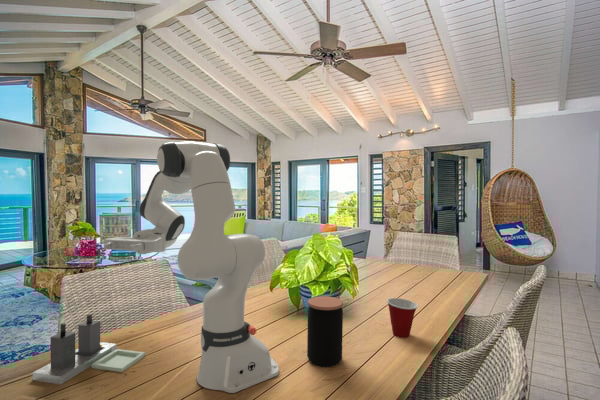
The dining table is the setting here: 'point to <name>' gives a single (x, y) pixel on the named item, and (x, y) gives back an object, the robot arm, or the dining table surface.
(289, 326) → the dining table surface
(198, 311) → the dining table surface
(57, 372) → the pillar on holed base
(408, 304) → the plastic cup
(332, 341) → the coffee jar
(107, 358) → the tray
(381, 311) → the dining table surface
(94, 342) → the plug
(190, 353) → the dining table surface
